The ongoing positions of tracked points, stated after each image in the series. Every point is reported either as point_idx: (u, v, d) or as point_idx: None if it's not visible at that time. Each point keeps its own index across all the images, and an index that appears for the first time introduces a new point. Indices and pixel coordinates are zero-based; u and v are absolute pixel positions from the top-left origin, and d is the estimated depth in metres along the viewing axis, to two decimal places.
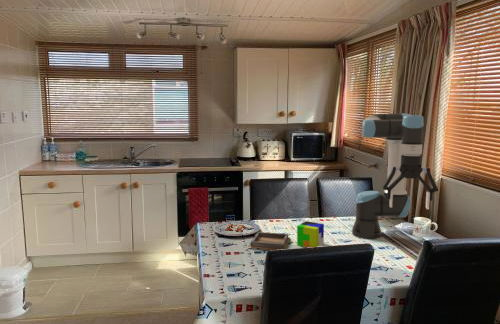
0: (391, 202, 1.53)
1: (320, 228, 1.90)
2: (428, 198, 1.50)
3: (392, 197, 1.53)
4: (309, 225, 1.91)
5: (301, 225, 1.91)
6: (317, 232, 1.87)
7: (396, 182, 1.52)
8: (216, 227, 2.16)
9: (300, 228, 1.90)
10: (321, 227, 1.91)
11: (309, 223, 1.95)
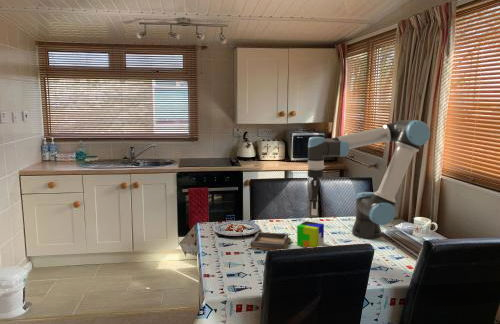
0: None
1: (320, 228, 1.90)
2: None
3: None
4: (309, 225, 1.91)
5: (301, 225, 1.91)
6: (317, 232, 1.87)
7: None
8: (216, 227, 2.16)
9: (300, 228, 1.90)
10: (321, 227, 1.91)
11: (309, 223, 1.95)
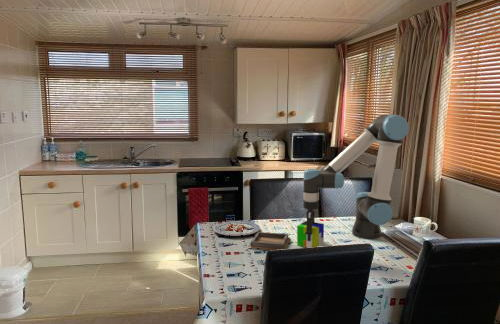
0: None
1: (320, 228, 1.90)
2: None
3: None
4: None
5: (301, 225, 1.91)
6: (317, 232, 1.87)
7: None
8: (216, 227, 2.16)
9: (300, 228, 1.89)
10: (321, 227, 1.91)
11: None
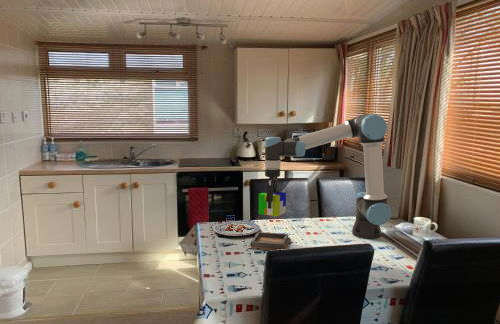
0: None
1: (281, 196, 1.89)
2: None
3: None
4: None
5: (263, 193, 1.90)
6: (278, 200, 1.86)
7: None
8: (216, 227, 2.16)
9: (262, 196, 1.88)
10: (283, 195, 1.90)
11: None
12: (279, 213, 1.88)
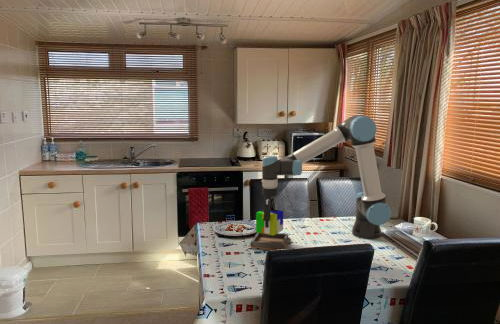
0: None
1: (279, 215, 1.90)
2: None
3: None
4: None
5: (260, 212, 1.92)
6: (275, 218, 1.87)
7: None
8: (216, 227, 2.16)
9: (259, 215, 1.90)
10: (280, 214, 1.91)
11: None
12: (276, 232, 1.89)
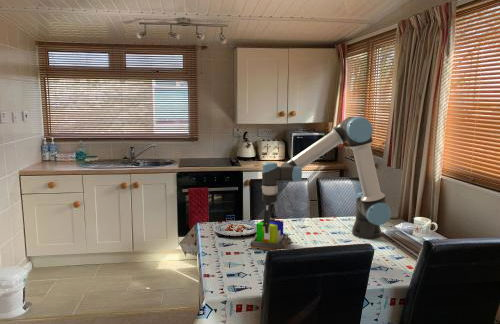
0: None
1: (279, 225, 1.91)
2: None
3: None
4: None
5: (260, 223, 1.92)
6: (276, 230, 1.88)
7: None
8: (216, 227, 2.16)
9: (259, 226, 1.90)
10: (280, 224, 1.92)
11: None
12: (277, 242, 1.90)
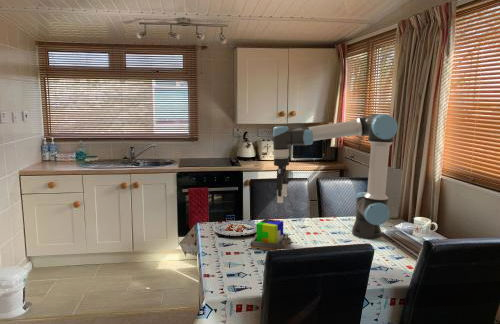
0: None
1: (279, 225, 1.91)
2: None
3: None
4: (268, 223, 1.92)
5: (260, 223, 1.92)
6: (276, 230, 1.88)
7: None
8: (216, 227, 2.16)
9: (259, 226, 1.90)
10: (280, 224, 1.92)
11: (269, 221, 1.95)
12: (277, 242, 1.90)
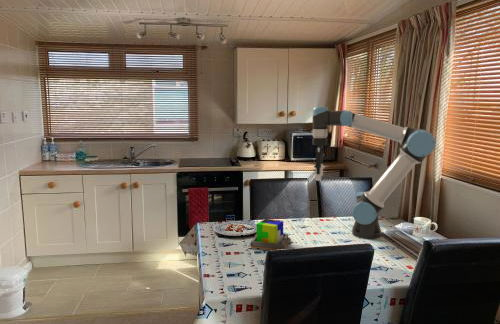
0: None
1: (279, 225, 1.91)
2: None
3: None
4: (268, 223, 1.92)
5: (260, 223, 1.92)
6: (276, 230, 1.88)
7: None
8: (216, 227, 2.16)
9: (259, 226, 1.90)
10: (280, 224, 1.92)
11: (269, 221, 1.95)
12: (277, 242, 1.90)
